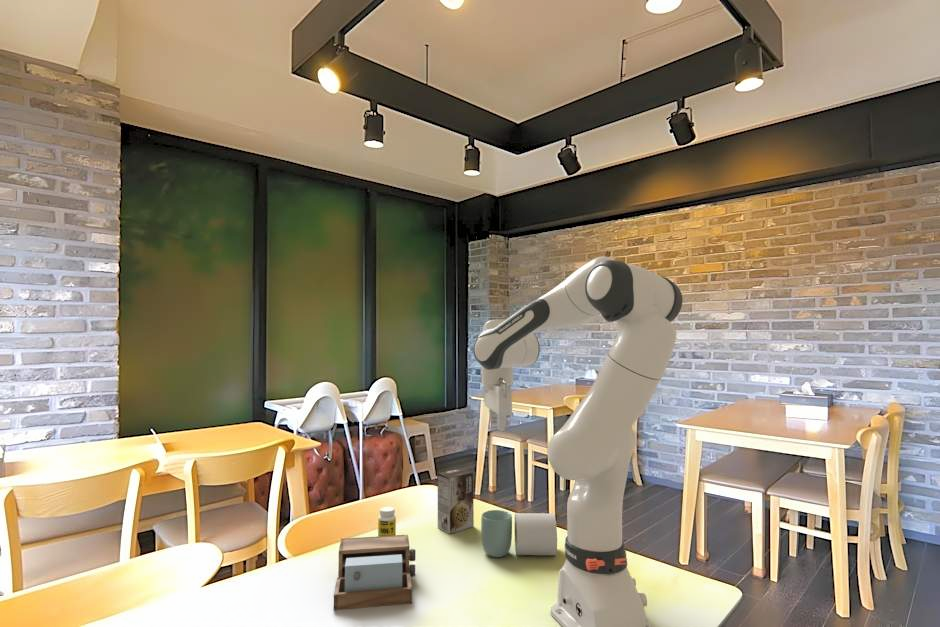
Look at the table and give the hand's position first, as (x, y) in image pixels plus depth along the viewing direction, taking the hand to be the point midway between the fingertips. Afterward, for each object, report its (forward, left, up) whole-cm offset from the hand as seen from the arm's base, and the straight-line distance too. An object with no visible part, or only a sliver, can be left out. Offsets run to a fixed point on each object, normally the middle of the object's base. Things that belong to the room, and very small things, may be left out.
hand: (497, 427), depth 141 cm
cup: (-8, +2, -31) cm, 32 cm away
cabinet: (-20, +32, -31) cm, 49 cm away
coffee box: (+12, +10, -31) cm, 35 cm away
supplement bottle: (+6, +30, -31) cm, 44 cm away
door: (-25, +33, -31) cm, 52 cm away
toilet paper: (-9, -8, -31) cm, 34 cm away
